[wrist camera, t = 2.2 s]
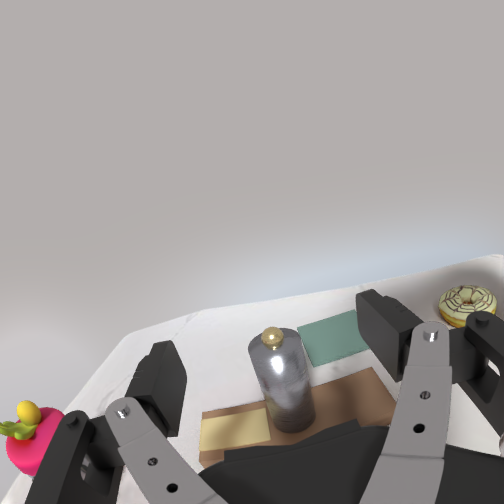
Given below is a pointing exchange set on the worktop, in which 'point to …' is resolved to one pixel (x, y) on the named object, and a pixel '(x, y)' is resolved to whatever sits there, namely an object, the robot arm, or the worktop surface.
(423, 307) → the worktop surface
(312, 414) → the cylinder with brass knob
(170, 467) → the robot arm
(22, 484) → the worktop surface
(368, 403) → the plane body
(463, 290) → the decorated donut
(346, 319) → the felt mat
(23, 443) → the cake
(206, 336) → the worktop surface
